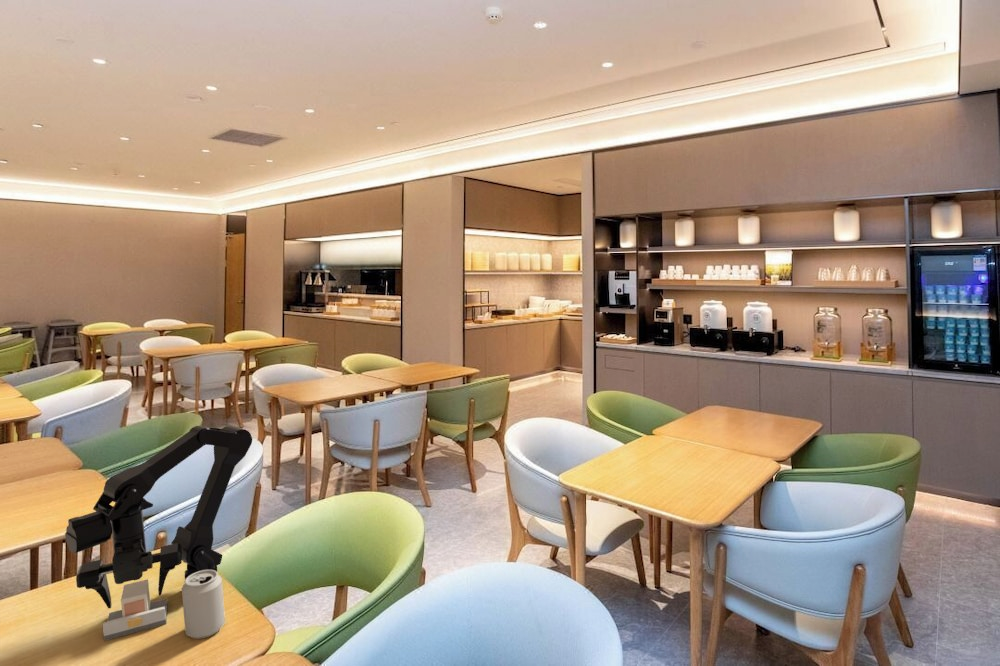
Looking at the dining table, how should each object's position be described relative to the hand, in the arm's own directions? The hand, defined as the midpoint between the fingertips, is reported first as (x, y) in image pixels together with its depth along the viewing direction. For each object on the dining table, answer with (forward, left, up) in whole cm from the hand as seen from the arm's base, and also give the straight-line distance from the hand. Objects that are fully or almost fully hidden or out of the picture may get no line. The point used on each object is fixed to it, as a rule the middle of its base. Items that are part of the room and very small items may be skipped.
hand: (135, 601), depth 123 cm
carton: (0, 0, -3) cm, 3 cm away
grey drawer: (0, 0, -4) cm, 4 cm away
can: (-13, +11, -4) cm, 18 cm away
